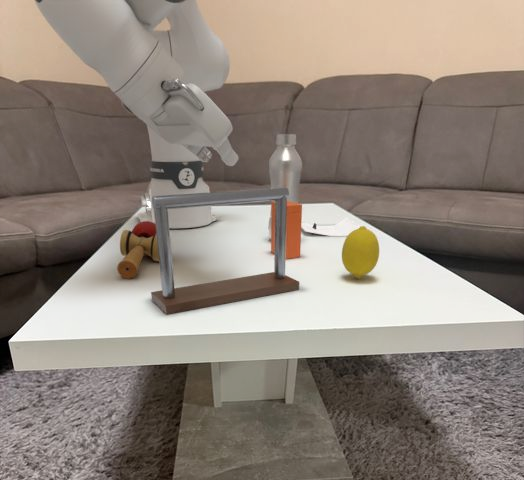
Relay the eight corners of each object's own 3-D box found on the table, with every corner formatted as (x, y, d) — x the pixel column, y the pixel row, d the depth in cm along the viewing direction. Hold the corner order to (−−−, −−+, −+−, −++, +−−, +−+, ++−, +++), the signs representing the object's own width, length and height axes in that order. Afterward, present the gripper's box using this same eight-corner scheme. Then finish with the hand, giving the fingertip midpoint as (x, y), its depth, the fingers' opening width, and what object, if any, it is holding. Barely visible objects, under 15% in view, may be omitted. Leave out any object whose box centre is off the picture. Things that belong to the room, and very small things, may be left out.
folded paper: (296, 226, 109) (296, 217, 108) (345, 225, 110) (346, 216, 109) (305, 236, 98) (305, 227, 97) (360, 235, 99) (361, 226, 98)
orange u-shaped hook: (270, 252, 85) (271, 201, 81) (284, 250, 87) (285, 200, 83) (286, 259, 81) (287, 205, 77) (300, 257, 83) (302, 204, 79)
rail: (151, 300, 62) (139, 193, 56) (277, 278, 71) (279, 184, 65) (166, 314, 57) (155, 199, 51) (299, 289, 66) (303, 189, 60)
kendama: (159, 286, 71) (176, 244, 86) (146, 248, 68) (166, 211, 83) (112, 294, 72) (136, 251, 87) (97, 257, 68) (125, 219, 83)
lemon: (354, 285, 68) (359, 231, 64) (333, 276, 72) (336, 224, 68) (383, 280, 70) (390, 227, 66) (360, 271, 74) (365, 221, 71)
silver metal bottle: (298, 245, 91) (302, 134, 82) (265, 243, 92) (265, 134, 84) (302, 238, 97) (306, 134, 88) (270, 236, 98) (271, 133, 89)
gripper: (195, 57, 54) (266, 146, 62) (144, 73, 70) (207, 143, 78) (162, 99, 54) (238, 183, 62) (119, 106, 70) (184, 171, 78)
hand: (220, 160), depth 71 cm, fingers open, 8 cm apart
